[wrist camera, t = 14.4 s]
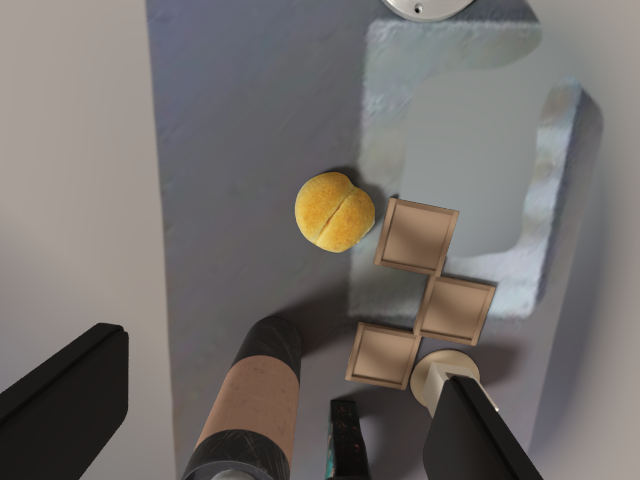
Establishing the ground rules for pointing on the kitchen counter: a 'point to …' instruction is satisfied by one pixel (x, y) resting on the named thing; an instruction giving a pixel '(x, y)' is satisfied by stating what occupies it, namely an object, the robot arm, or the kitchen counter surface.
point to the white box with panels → (437, 379)
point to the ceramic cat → (345, 444)
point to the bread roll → (333, 212)
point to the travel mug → (253, 410)
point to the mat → (438, 356)
